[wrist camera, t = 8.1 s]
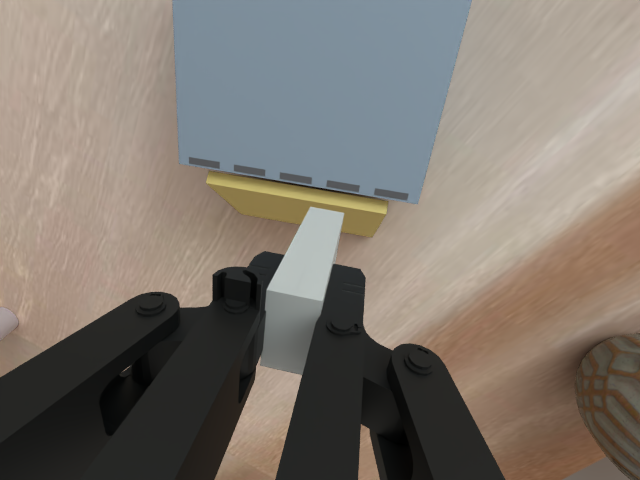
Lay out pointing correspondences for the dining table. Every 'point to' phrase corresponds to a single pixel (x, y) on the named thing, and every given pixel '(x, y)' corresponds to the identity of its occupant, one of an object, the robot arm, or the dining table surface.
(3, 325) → the smoothie
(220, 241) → the dining table surface
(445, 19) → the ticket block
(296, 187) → the yellow rectangular panel
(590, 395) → the vase
